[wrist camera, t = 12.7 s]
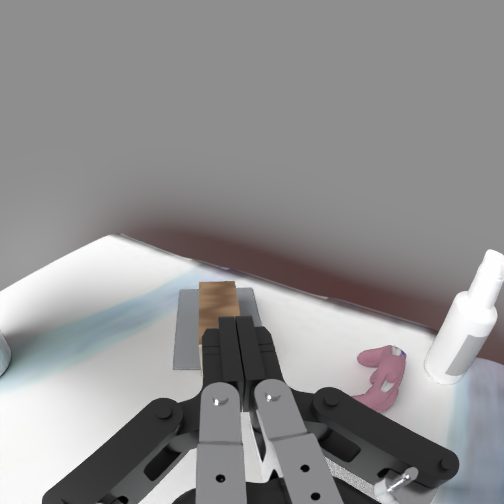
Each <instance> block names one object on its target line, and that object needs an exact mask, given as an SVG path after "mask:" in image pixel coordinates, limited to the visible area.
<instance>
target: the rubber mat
mask: <svg viewBox="0 0 504 504" xmlns="http://www.w3.org/2000/svg"><path fill="white" fill-rule="evenodd" d="M236 292H237V298H238V304H239V310H240V316H252V318H253V322H254V327H261V323H260V319H259V315H258V311H257V307H256V303H255V299H254V295H253V291H252V288H236ZM194 369H201V363H200V354H199V289H192V290H180V294H179V304H178V313H177V324H176V335H175V347H174V360H173V370H194Z"/></svg>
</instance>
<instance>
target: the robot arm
mask: <svg viewBox="0 0 504 504" xmlns="http://www.w3.org/2000/svg"><path fill="white" fill-rule="evenodd" d="M10 360H11V350H10V347H9V346H8V344H7V342H6V340H5V338H4V336H3V334H2V332H1V330H0V376H1V375H2V374H3V373H4V372H5V370H6V369H7V367H8V365H9V363H10ZM202 368H203V387H202V389H201V391H200V393H199V394H198V395H197V396H195V397H194V398H192V399H190V400H187V401H183V402H180V403H177V402H176V401H174V400H172V399H169V398H159V399H156V400H153V401H152V402H150V403H149V404H148V405H147V406H146V407H145V408H144V409H143V410H141V411H140V412H139V413H138V414H137V415H136V416H135V417H134V418H133V419H131V420H130V421H129V422H128V423H127V424H126V425H125V426H124V427H123V428H121V429H120V430H119V431H118V432H117V433H116V434H115V435H114V436H112V437H111V438H110V439H109V440H108V441H107V442H106V443H104V444H103V445H102V446H101V447H100V448H99V449H98V450H96V451H95V452H94V453H93V454H92V455H91V456H89V457H88V458H87V459H86V460H85V461H84V462H82V463H81V464H80V465H79V466H78V467H76V468H75V469H74V470H73V471H72V472H70V473H69V474H68V475H67V476H66V477H64V478H63V479H62V480H61V481H59V482H58V483H57V484H56V485H55V486H53V487H52V488H51V489H50V490H48V491H47V492H46V493H45V494H44V496H43V498H42V504H138V503H139V502H140V501H141V500H142V499H143V498H144V497H145V496H146V495H147V494H148V493H149V492H150V491H151V490H152V489H153V488H154V487H155V486H156V485H157V484H158V483H159V482H160V481H161V480H162V479H163V478H164V477H165V476H166V475H167V474H168V473H169V472H170V471H171V470H172V469H173V468H174V467H175V466H176V465H177V463H178V462H179V461H180V460H181V459H182V458H183V457H184V456H185V455H186V454H187V453H188V451H189V450H191V449H194V448H197V465H196V488H194V489H191V490H189V491H187V492H185V493H184V494H182V495H181V496H179V497H178V498H177V499H176V500H175V501H174V502H173V503H172V504H381V503H379V502H378V501H376V500H374V499H372V498H371V497H369V496H367V495H366V494H364V493H362V492H361V491H359V490H358V489H356V488H354V487H353V486H351V485H350V484H348V483H346V482H345V481H343V480H341V479H339V478H337V477H334V476H332V475H331V472H330V470H329V467H328V465H327V463H326V460H325V458H324V456H325V457H327V458H328V459H330V460H332V461H333V462H335V463H336V464H338V465H340V466H341V467H343V468H345V469H346V470H348V471H350V472H351V473H353V474H355V475H356V476H358V477H360V478H362V479H363V480H365V481H367V482H369V483H371V484H372V485H374V494H375V497H376V498H377V499H378V500H379V501H381V502H382V503H383V504H430V503H431V501H432V499H433V497H434V495H435V493H436V491H437V489H438V487H439V486H440V485H442V484H443V483H445V482H447V481H448V480H450V479H451V478H453V477H454V476H455V475H456V474H457V472H458V469H459V460H458V457H457V456H456V454H455V453H454V452H452V451H450V450H448V449H446V448H444V447H442V446H440V445H438V444H436V443H434V442H432V441H430V440H428V439H426V438H424V437H422V436H420V435H418V434H416V433H415V432H413V431H411V430H409V429H407V428H405V427H403V426H401V425H400V424H398V423H396V422H394V421H392V420H391V419H389V418H387V417H385V416H383V415H382V414H380V413H378V412H376V411H375V410H373V409H371V408H369V407H368V406H366V405H364V404H362V403H361V402H359V401H357V400H356V399H354V398H352V397H351V396H349V395H347V394H346V393H344V392H342V391H341V390H339V389H336V388H333V387H325V388H322V389H320V390H318V391H317V392H316V393H315V394H313V393H305V392H299V391H296V390H294V389H292V388H290V387H289V386H288V385H287V384H286V383H285V381H284V379H283V376H282V373H281V369H280V366H279V362H278V358H277V355H276V352H275V347H274V345H273V340H272V337H271V334H270V333H269V331H268V330H267V329H266V328H265V327H264V326H261V327H254V322H253V318H252V316H235V318H234V316H224V317H218V328H210V329H206V330H205V332H204V334H203V336H202ZM242 407H243V412H249V413H250V419H251V421H250V429H251V433H252V437H253V440H254V444H255V448H256V451H257V455H258V459H259V462H260V468H261V477H262V481H263V483H252V482H245V467H244V451H243V443H242V436H241V417H240V412H242Z"/></svg>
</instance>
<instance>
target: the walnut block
mask: <svg viewBox="0 0 504 504" xmlns="http://www.w3.org/2000/svg"><path fill="white" fill-rule="evenodd" d="M224 316H234V318H235V316H240V310H239V304H238V298H237V292H236V286H235V281H224V282H199V354H200V363H201V372H202V377H203V368H202V336H203V334H204V332H205V330H206V329H210V328H218V317H224Z"/></svg>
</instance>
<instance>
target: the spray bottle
mask: <svg viewBox="0 0 504 504" xmlns="http://www.w3.org/2000/svg"><path fill="white" fill-rule="evenodd" d="M503 282H504V255H502V254H501V253H499V252H497V251H494V250H488V251H487V252H486V254H485V256H484V259H483V262H482V263H481V265H480V266H479V268H478V271H477V273H476V276H475V278H474V281H473V282H472V284H471V287H470V289H469V291H463V292H461V293H459V294H457V295H456V297H455V299H454V301H453V303H452V306H451V308H450V310H449V312H448V314H447V317H446V319H445V321H444V323H443V325H442V327H441V329H440V331H439V333H438V335H437V337H436V339H435V341H434V343H433V344H432V346H431V348H430V350H429V352H428V354H427V355H426V357H425V361H424V366H425V370H426V372H427V374H428V375H429V376H430V377H431V378H432V379H433V380H434V381H436V382H437V383H440V384H443V385H452V384H455V383H457V382H458V381H459V380H461V378H462V377H463V375H464V374H465V372H466V371H467V369H468V368H469V366H470V365H471V363H472V362H473V360H474V359H475V357H476V355H477V354H478V352H479V351H480V349H481V348H482V346H483V344H484V342H485V341H486V339H487V337H488V335H489V334H490V332H491V330H492V328H493V327H494V325H495V323H496V320H497V316H498V315H497V311H496V309H495V307H494V303H495V301H496V299H497V297H498V293H499V291H500V289H501V286H502V284H503Z"/></svg>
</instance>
